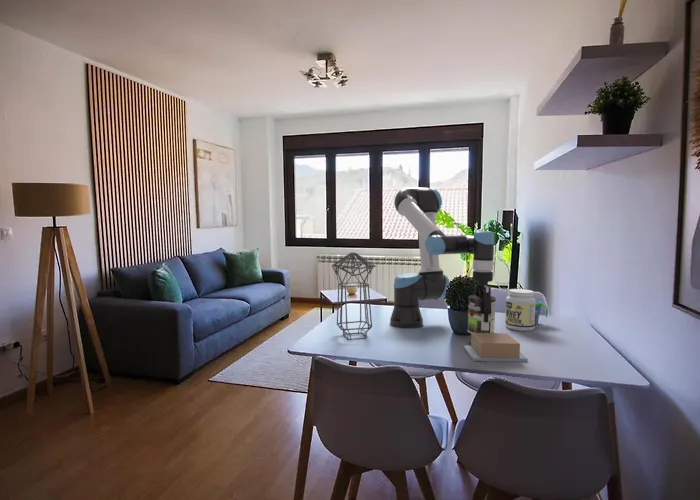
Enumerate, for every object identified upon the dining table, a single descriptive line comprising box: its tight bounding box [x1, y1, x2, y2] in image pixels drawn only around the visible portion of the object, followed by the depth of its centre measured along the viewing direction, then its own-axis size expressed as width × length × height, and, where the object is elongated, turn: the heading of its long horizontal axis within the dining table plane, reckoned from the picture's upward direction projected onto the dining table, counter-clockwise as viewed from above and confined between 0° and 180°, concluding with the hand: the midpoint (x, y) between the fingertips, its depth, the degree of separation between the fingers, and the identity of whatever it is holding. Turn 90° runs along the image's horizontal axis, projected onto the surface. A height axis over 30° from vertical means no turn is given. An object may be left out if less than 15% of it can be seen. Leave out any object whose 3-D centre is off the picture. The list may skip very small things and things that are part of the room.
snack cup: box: [535, 299, 549, 325], centre depth 190 cm, size 16×10×10 cm
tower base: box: [463, 332, 528, 363], centre depth 144 cm, size 18×14×6 cm
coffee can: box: [467, 294, 497, 334], centre depth 159 cm, size 10×10×14 cm
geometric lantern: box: [331, 252, 377, 341], centre depth 167 cm, size 16×16×35 cm
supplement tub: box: [504, 288, 537, 332], centre depth 180 cm, size 12×12×17 cm
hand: (481, 326), depth 160 cm, fingers closed on coffee can, 10 cm apart
